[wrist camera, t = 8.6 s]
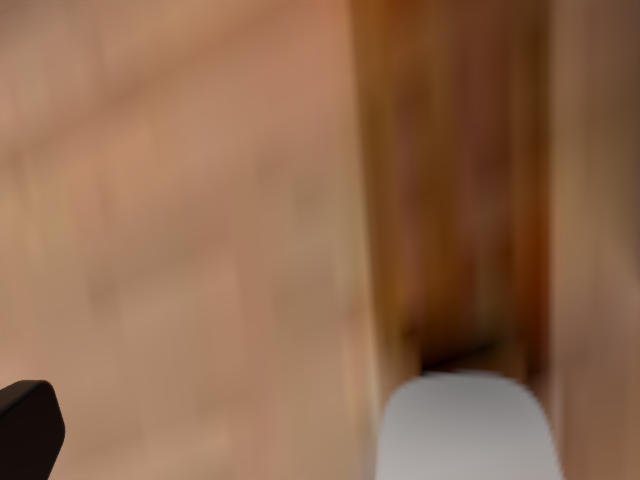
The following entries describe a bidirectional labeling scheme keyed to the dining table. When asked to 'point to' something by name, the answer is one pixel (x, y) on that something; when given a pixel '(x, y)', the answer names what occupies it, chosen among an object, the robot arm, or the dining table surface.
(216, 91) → the dining table surface
